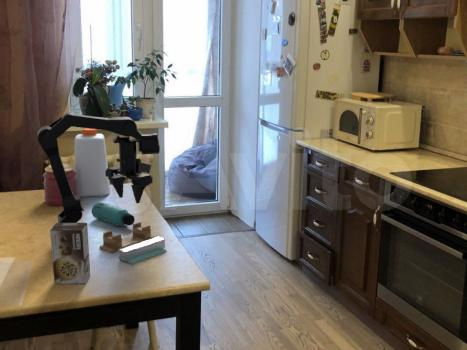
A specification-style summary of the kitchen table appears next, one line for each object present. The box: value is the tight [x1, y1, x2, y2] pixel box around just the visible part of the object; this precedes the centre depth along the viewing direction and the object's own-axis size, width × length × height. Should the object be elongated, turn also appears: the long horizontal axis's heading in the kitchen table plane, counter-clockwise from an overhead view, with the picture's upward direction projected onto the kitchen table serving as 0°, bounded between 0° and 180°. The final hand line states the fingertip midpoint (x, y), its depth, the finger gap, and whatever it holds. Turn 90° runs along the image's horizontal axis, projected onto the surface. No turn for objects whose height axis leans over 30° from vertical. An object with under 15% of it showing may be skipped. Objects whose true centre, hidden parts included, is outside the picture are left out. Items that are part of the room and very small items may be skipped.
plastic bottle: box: [73, 128, 111, 198], centre depth 243 cm, size 15×15×28 cm
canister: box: [42, 162, 77, 207], centre depth 230 cm, size 13×13×18 cm
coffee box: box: [49, 222, 91, 285], centre depth 158 cm, size 9×6×16 cm
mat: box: [117, 248, 168, 265], centre depth 179 cm, size 14×7×1 cm, turn 138°
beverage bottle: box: [91, 201, 136, 227], centre depth 207 cm, size 6×7×20 cm
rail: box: [118, 236, 166, 262], centre depth 178 cm, size 16×3×3 cm, turn 138°
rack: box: [99, 221, 155, 254], centre depth 187 cm, size 18×6×5 cm, turn 138°
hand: (129, 200), depth 191 cm, fingers open, 9 cm apart
